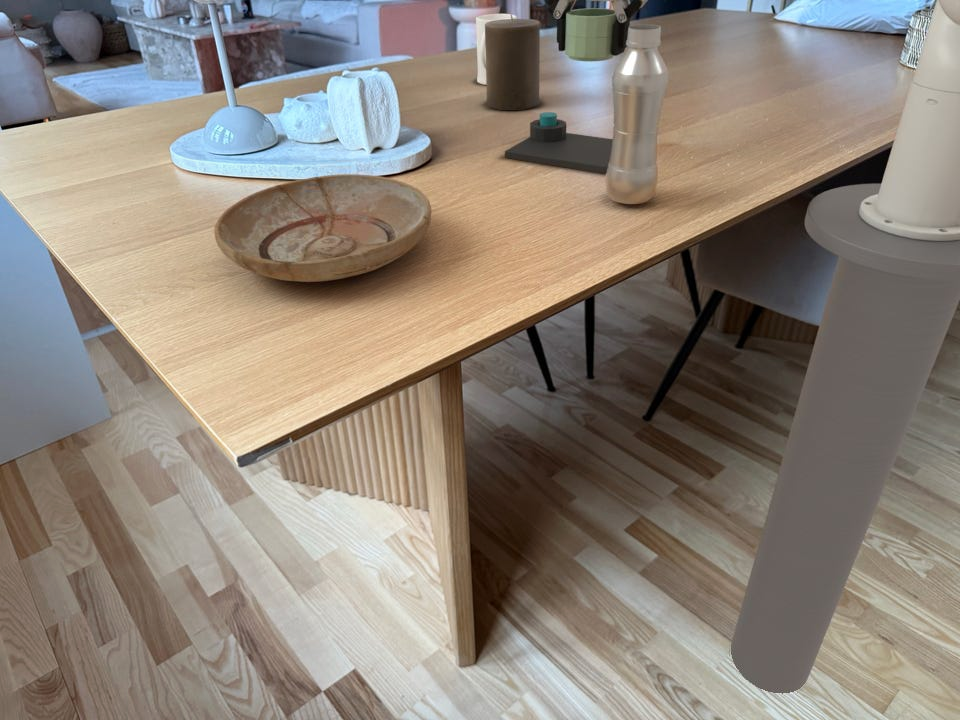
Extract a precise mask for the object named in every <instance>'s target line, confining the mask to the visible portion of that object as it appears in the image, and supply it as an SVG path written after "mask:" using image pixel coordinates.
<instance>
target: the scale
mask: <svg viewBox="0 0 960 720" xmlns="http://www.w3.org/2000/svg"><path fill="white" fill-rule="evenodd" d="M612 142H613V138H607V137H600V136H592V135H586V134H585V135H584V134H578V133H570V132H567V121H565V120H562V119H559V118H557V125H556V126H550V127H545V126H540V118H539V119H535V120H533V121H531V122H530V123H529V137H526V138H525V139H523V140H522V141H520V142H518V143H516V144H515V145H513V146H511V147H510V148H508V149H506V150H504V158H506V159H512V160H517V161H523V162H530V163H535V164H541V165H548V166H553V167H554V166H555V167H561V168H565V169H566V168H567V169H572V170H579V171H585V172H592V173H597V174H603V175H606V172H607V168H608V164H609V162H610V155H611V148H612Z"/></svg>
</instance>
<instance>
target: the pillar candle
mask: <svg viewBox="0 0 960 720" xmlns="http://www.w3.org/2000/svg"><path fill="white" fill-rule="evenodd" d="M512 15H513V14H512ZM512 15H511V19H504V20H494V21H490V22H487V23H485V48H486V84H487V85H486V104H487V106H488V107H489V108H491V109H493V110H497V111H524V110H528V109H529V110H530V109H533V108H535V107H537V106H539V105H540V87H541V86H540V79H541V77H540V74H541V73H540V68H541V67H540V66H541V65H540V64H541V60H540V59H541V57H540V56H541V55H540V51H541V50H540V49H541V46H540V45H541V44H540V43H541V36H540V35H541V33H540V32H541V29H540V28H541V22H540V21H539V20H537V19H532V18H531V19H529V18H517V19H513V18H512Z"/></svg>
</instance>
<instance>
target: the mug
mask: <svg viewBox="0 0 960 720" xmlns="http://www.w3.org/2000/svg"><path fill="white" fill-rule="evenodd" d="M511 15H512V18H513V19H518V18H517V15H515V14H512V13H488V14H482V15H478V16H476V17H475V33H476V34H475V35H476V58H477V59H476V61H477V64H476V65H477V77H476V82H477V83H478V84H479V85H484V86H487V84H486V48H485V23H487V22H490V21H494V20H504V19H511Z"/></svg>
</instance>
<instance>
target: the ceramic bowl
mask: <svg viewBox="0 0 960 720" xmlns="http://www.w3.org/2000/svg"><path fill="white" fill-rule="evenodd" d="M431 220H432V205H431V203H430V200H429V198H428V197H427V196H426V194H425V193H424V192H422V190H420V189H418V188H417V187H415V186H413V185H412V184H409V183H405V182H404V181H401V180H399V179H394V178H390V177H385V176H379V175H371V174H360V173H359V174H358V173H347V174H343V173H342V174H328V175H321V176H314V177H308V178H301V179H297V180H292V181H288V182H284V183H280V184H277V185H273V186H270V187H266V188H264V189H261V190H259V191H256V192H254V193H251V194H249V195H247V196H246V197H244V198H242V199H240V200H238V201H237V202H236V203H234V204H232V205H231V206H229V207H228V208H227V209H226V210H224V212H223V213H222V214H221V215H220V216H219V217H218V219H217V221H216V223H215V225H214V229H213V230H214V231H213V233H214V239H215V241H216V245H217V247H218V248H219V250H220V251H221V252H222V253H223V255H225V257H227V258H228V259H229V260H230V261H231V262H233V263H234V264H235V265H237V266H239V267H240V268H242V269H245V270H247V271H250V272H252V273H254V274H258V275H261V276H263V277H267V278H272V279H276V280H281V281H289V282H301V283H304V282H305V283H314V282H328V281H335V280H336V281H337V280H341V279H346V278H350V277H356V276H358V275H362V274H366V273H370V272H373V271H375V270H378V269H380V268H382V267H384V266H386V265H389V264H390V263H392V262H394V261H396V260H398V259H399V258H401V257H402V256H404V255H405V254H407V253H408V252H409V251H410V250H412V249H413V248H414V247H415V246H416V245H417V244H418V243H419V242H420V241H421V240H422V238H423V237H424V236H425V234H426V233H427V231H428V228H429V226H430V223H431Z"/></svg>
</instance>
